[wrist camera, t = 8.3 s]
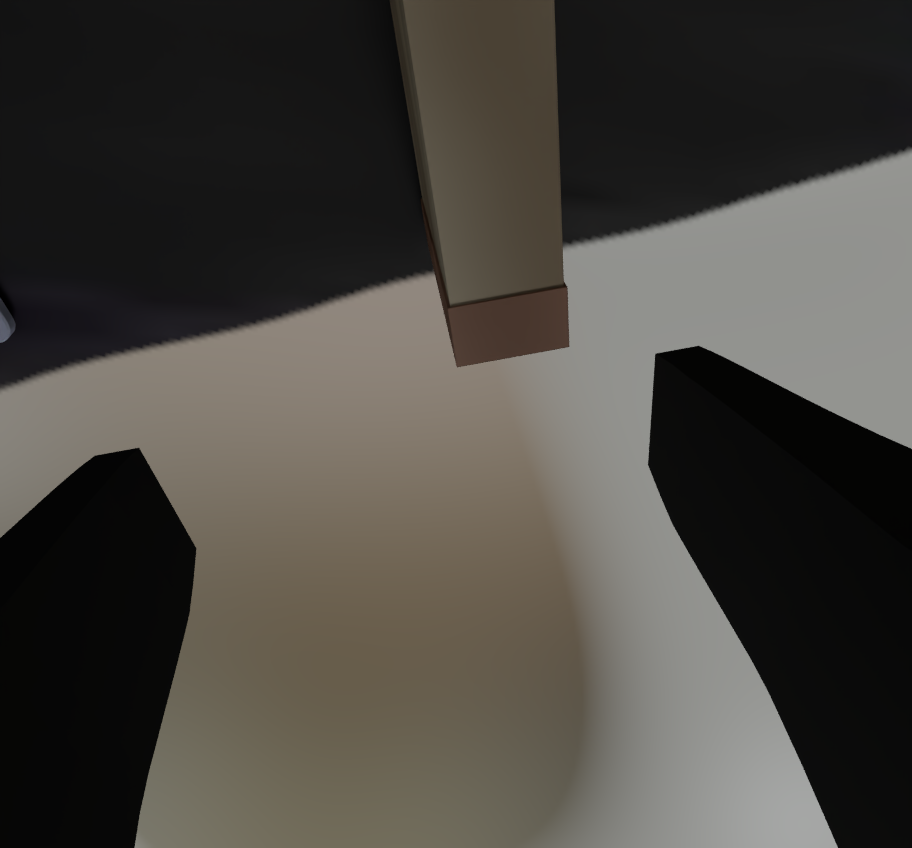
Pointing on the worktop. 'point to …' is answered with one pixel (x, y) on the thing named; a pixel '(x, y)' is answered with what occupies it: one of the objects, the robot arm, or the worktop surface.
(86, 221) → the worktop surface
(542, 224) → the brown-tipped cream rod
